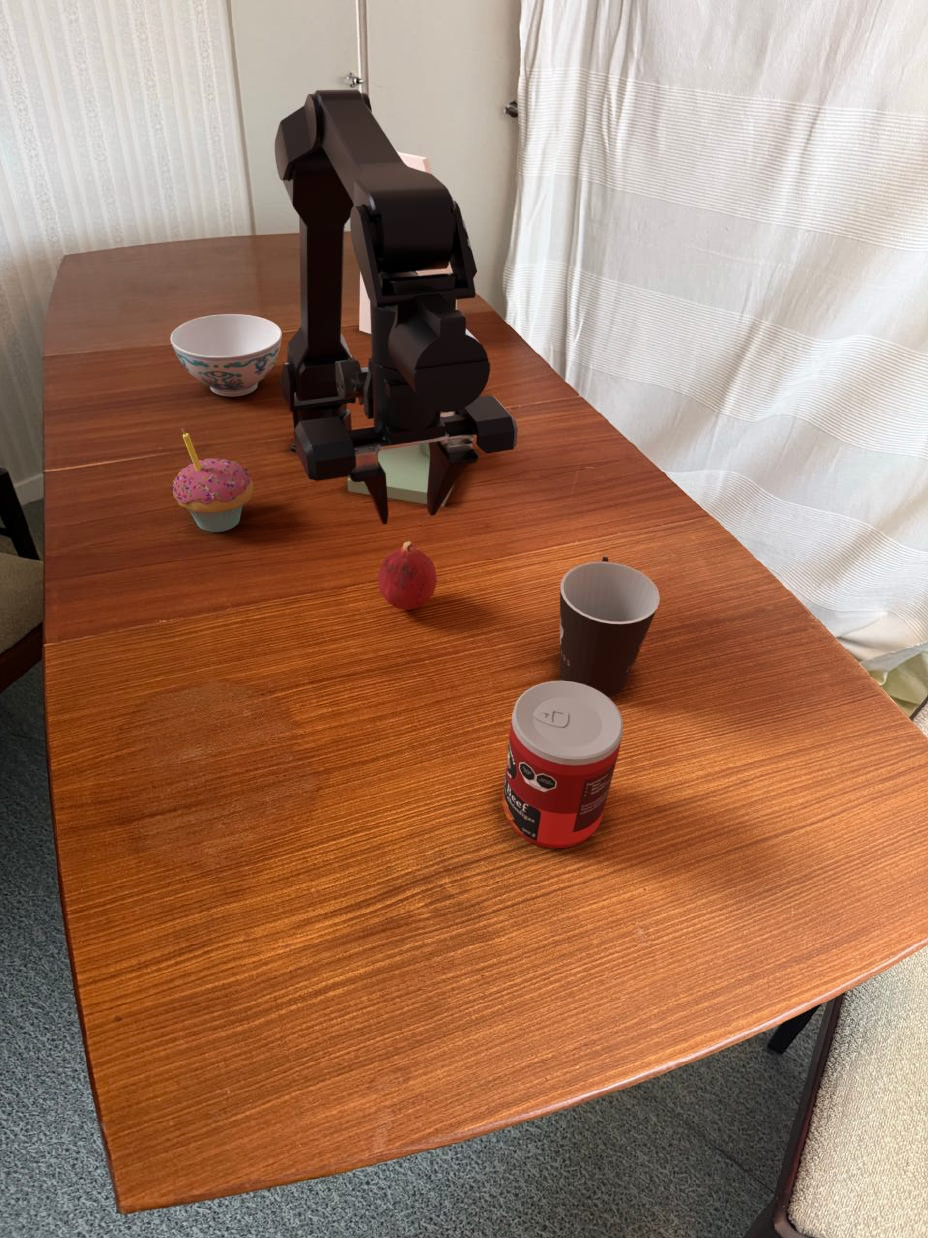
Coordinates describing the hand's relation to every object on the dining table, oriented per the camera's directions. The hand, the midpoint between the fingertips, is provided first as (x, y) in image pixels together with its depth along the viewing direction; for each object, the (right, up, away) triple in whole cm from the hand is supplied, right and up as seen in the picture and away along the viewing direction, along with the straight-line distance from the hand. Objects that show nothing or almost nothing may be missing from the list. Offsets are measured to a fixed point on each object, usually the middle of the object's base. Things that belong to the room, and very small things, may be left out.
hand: (407, 517), depth 77 cm
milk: (-4, +39, +62) cm, 74 cm away
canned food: (+12, -25, -11) cm, 30 cm away
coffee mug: (+18, -14, +2) cm, 23 cm away
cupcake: (-23, +2, +18) cm, 29 cm away
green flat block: (-1, +9, +27) cm, 29 cm away
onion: (-1, -8, +7) cm, 11 cm away
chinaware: (-28, +24, +43) cm, 57 cm away
